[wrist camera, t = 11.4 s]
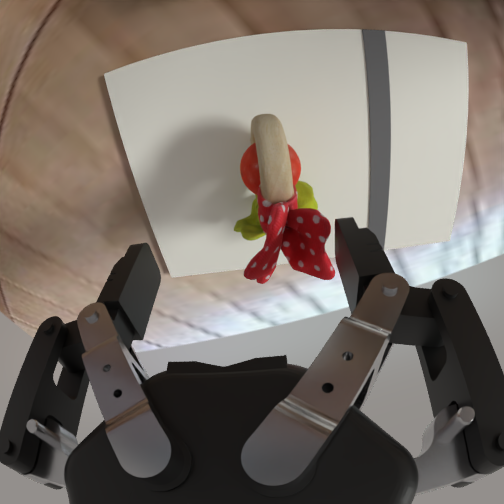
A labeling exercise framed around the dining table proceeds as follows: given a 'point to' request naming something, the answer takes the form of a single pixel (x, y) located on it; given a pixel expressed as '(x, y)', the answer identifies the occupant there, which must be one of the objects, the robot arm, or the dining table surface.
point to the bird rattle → (281, 206)
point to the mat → (296, 135)
